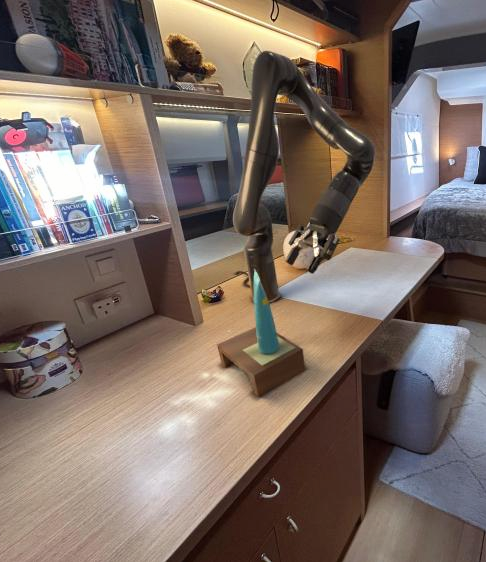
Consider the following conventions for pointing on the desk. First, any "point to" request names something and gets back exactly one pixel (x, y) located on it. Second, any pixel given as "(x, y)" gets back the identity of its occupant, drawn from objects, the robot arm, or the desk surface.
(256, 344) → the brown wooden table
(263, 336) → the tube
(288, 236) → the stuffed toy
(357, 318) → the desk surface
